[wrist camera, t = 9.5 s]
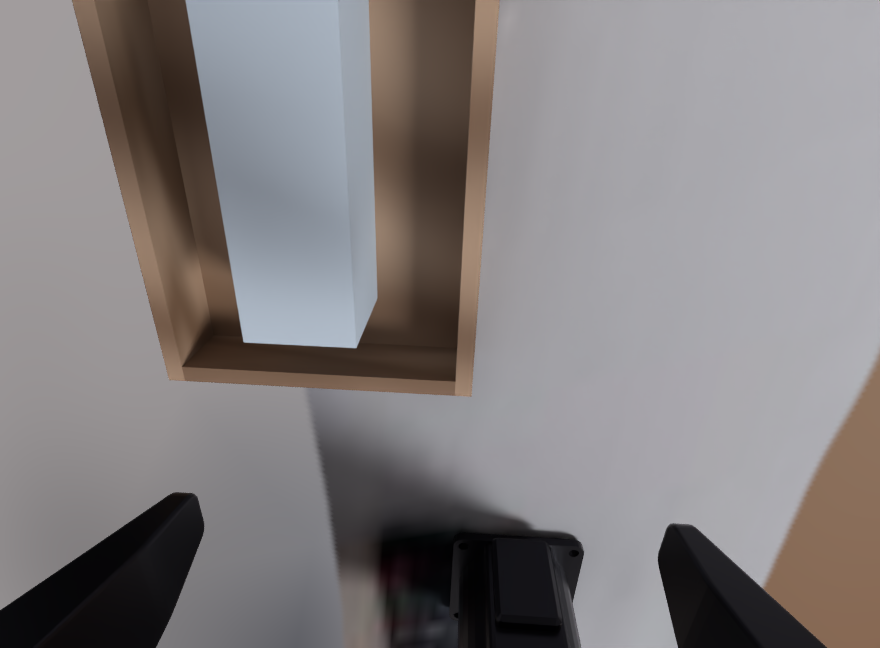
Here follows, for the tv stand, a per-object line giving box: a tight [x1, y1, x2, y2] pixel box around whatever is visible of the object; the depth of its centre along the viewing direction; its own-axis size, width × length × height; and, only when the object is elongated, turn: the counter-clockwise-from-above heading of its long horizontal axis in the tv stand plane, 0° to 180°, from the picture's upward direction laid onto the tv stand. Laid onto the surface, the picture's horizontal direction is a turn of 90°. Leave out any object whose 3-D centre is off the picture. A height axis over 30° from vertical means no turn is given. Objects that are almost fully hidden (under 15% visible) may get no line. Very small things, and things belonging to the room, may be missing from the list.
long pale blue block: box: [186, 0, 377, 348], centre depth 14 cm, size 13×4×4 cm, turn 178°
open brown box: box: [72, 0, 499, 397], centre depth 15 cm, size 17×11×3 cm, turn 178°
